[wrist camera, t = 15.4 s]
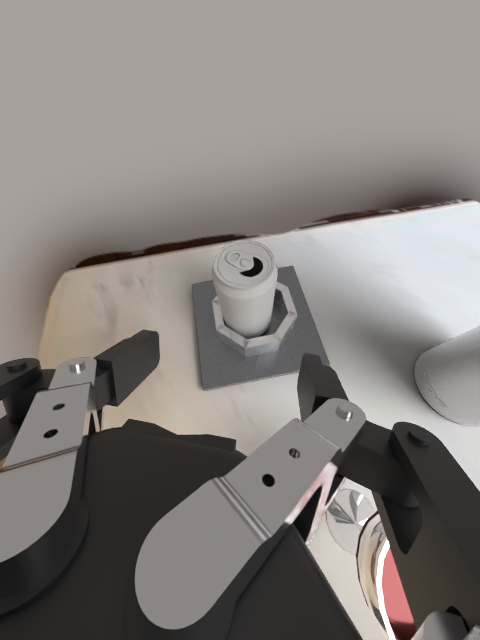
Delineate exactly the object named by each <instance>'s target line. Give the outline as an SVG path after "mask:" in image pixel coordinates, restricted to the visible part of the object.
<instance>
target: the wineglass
mask: <svg viewBox="0 0 480 640" xmlns="http://www.w3.org/2000/svg"><path fill="white" fill-rule="evenodd" d="M326 514H327V524H328V527H329V530H330V533H331V535H332V536H333V538H334V540H335V541H336V543H337V544H338V545H339V546H340V547H341V548H342V549H344V550H346V551H347V552H349V553H351V554H356V560H357V570H358V578H359V582H360V585H361V588H362V591H363V594H364V597H365V600H366V603H367V606H368V607H369V609H370V612H371V613H372V615H373V617H374V619H375V620H376V622H377V624H378V625H379V627H380V629H381V631H382V632H383V634H384V636H385V637H386V638H387V640H411V639H412V638H413V636H414V635H415V634H416V632H417V630H416V627H415V623H414V620H413V617H412V614H411V611H410V608H409V605H408V602H407V599H406V596H405V593H404V590H403V586H402V583H401V580H400V577H399V574H398V571H397V568H396V565H395V562H394V559H393V556H392V553H391V549H390V546H389V543H388V540H387V537H386V534H385V531H384V528H383V525H382V522H381V519H380V516H379V513H378V510H377V511H376V512H375V510H374V508H373V506H372V505H371V503H370V502H369V501H368V499H366V498H365V497H364V496H363V495H362V494H360V493H358V492H356V491H354V490H348V489H344V490H341V491H338V493H337V494H336V496H335V498H334V499H333V501H332V502H331V504H330V506H329V507H328V509H327V511H326Z"/></svg>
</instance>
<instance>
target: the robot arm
mask: <svg viewBox="0 0 480 640" xmlns="http://www.w3.org/2000/svg"><path fill="white" fill-rule="evenodd" d="M159 359H160V351H159V334H158V332H156V331H149V330H142V331H140V332H139V333H137V334H135V335H134V336H132V337H130V338H127V339H124V340H122V341H121V342H119V343H117V344H116V345H114V346H112V347H111V348H110V349H108V350H106V351H104V352H103V353H101V354H99V355H98V356H96V357H94V358H88V357H83V358H76V359H72V360H68V361H66V362H64V363H62V364H60V365H59V366H58V367H57V369H44V370H41V366H40V361H39V360H38V359H34V358H23V359H17V360H13V361H9V362H6V363H4V364H1V365H0V401H1V400H2V401H3V404H4V407H5V410H6V413H7V415H6V416H4V417H3V418H1V419H0V461H1V460H2V459H3V458H5V457H6V456H7V455H8V456H7V458H6V461H5V463H4V465H3V467H2V468H1V469H0V640H363V639H362V637H361V636H360V634H359V632H358V631H357V629H356V627H355V626H354V624H353V622H352V621H351V619H350V617H349V616H348V614H347V612H346V611H345V609H344V607H343V606H342V604H341V602H340V601H339V599H338V597H337V596H336V594H335V592H334V591H333V589H332V587H331V586H330V584H329V582H328V580H327V579H326V577H325V575H324V574H323V572H322V570H321V569H320V567H319V565H318V564H317V562H316V560H315V559H314V557H313V555H312V554H311V552H310V550H309V549H308V546H309V544H310V542H311V540H312V539H313V537H314V535H315V533H316V531H317V529H318V526H319V524H320V522H321V520H322V518H323V516H324V514H325V512H326V511H327V509H328V507H329V506H330V504H331V502H332V501H333V499H334V498H335V496H336V494H337V493H338V491H339V490H340V488H341V486H342V485H343V483H344V481H345V480H346V478H348V479H350V480H352V481H354V482H356V483H358V484H360V485H362V486H364V487H366V488H368V489H370V490H371V491H372V494H373V497H374V500H375V503H376V506H377V509H378V513H379V516H380V519H381V522H382V525H383V528H384V531H385V534H386V537H387V540H388V543H389V546H390V549H391V553H392V556H393V559H394V562H395V565H396V568H397V571H398V574H399V577H400V580H401V583H402V586H403V590H404V593H405V596H406V599H407V602H408V605H409V608H410V611H411V614H412V617H413V620H414V623H415V627H416V630H417V632H416V634H415V635H414V636H413V638H412V639H411V640H480V491H479V490H478V489H477V488H476V486H475V485H474V484H473V482H472V481H471V480H470V478H469V477H468V476H467V474H466V473H465V472H464V471H463V469H462V468H461V467H460V465H459V464H458V463H457V461H456V460H455V459H454V457H453V456H452V455H451V454H450V452H449V451H448V450H447V448H446V447H445V446H444V444H443V443H442V442H441V441H440V440H439V439H438V438H437V437H436V436H435V435H433V434H432V433H431V432H429V431H427V430H426V429H424V428H422V427H420V426H418V425H415V424H412V423H408V422H397V423H395V424H394V426H393V428H392V430H389V429H386V428H384V427H381V426H378V425H376V424H373V423H371V422H369V421H367V420H366V416H365V413H364V412H363V411H362V410H361V409H360V408H359V407H358V406H357V405H355V404H354V403H352V402H350V401H349V400H348V398H347V396H346V393H345V391H344V389H343V387H342V385H341V383H340V380H339V378H338V376H337V374H336V372H335V371H334V370H333V369H332V368H331V367H330V366H327V365H323V364H322V362H321V359H320V356H319V355H317V354H309V353H303V356H302V361H301V366H300V372H299V377H298V384H297V392H298V399H299V406H300V414H301V420H299V419H298V418H294V419H293V420H291V421H290V422H289V423H288V424H287V425H285V426H284V427H283V428H282V429H281V430H279V431H278V432H277V433H276V434H275V435H273V436H272V437H271V438H270V439H269V440H267V441H266V442H265V443H264V444H263V445H262V446H260V447H259V448H258V449H257V450H256V451H254V452H253V453H252V454H251V455H250V456H248V457H247V456H246V455H244V454H243V453H241V452H239V451H237V450H236V440H235V439H230V438H225V437H219V436H214V435H209V434H204V435H177V434H174V433H172V432H170V431H168V430H166V429H164V428H162V427H160V426H158V425H156V424H153V423H148V422H143V421H138V420H133V419H128V420H127V421H126V423H125V424H124V425H123V426H122V427H118V428H110V429H106V430H103V425H104V409H103V407H104V406H105V405H111V406H117V407H118V406H119V405H120V404H121V403H122V402H123V401H124V400H125V399H126V398H127V397H128V396H129V395H130V394H131V393H132V392H133V391H134V390H135V389H136V388H137V387H138V386H139V384H140V383H141V382H142V381H143V380H144V379H145V378H146V377H147V376H148V375H149V374H150V373H151V372H152V371H153V370H154V369H155V368H156V367H157V366H158V363H159ZM414 376H415V381H416V384H417V387H418V389H419V391H420V393H421V394H422V396H423V398H424V399H425V400H426V402H427V403H428V404H429V405H430V406H431V407H432V408H433V409H434V410H436V411H437V412H438V413H439V414H440V415H442V416H444V417H445V418H447V419H449V420H451V421H453V422H456V423H458V424H462V425H467V426H480V326H479V327H477V328H474V329H472V330H470V331H468V332H466V333H464V334H461V335H459V336H457V337H455V338H453V339H450V340H448V341H446V342H444V343H442V344H440V345H438V346H436V347H433V348H431V349H429V350H427V351H425V352H424V353H423V354H421V355H420V356H419V358H418V359H417V361H416V364H415V368H414Z"/></svg>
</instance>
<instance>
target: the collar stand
mask: <svg viewBox="0 0 480 640" xmlns="http://www.w3.org/2000/svg"><path fill="white" fill-rule="evenodd" d="M192 291H193V300H194V309H195V319H196V328H197V337H198V347H199V356H200V366H201V375H202V384H203V390H204V391H207V390H212V389H217V388H222V387H227V386H232V385H237V384H242V383H247V382H252V381H257V380H262V379H267V378H272V377H277V376H282V375H287V374H292V373H297V372H300V366H301V361H302V356H303V353H309V354H317V355H319V356H320V359H321V362H322V364H323V365H327V366H329V365H330V363H329V360H328V358H327V355H326V352H325V350H324V347H323V344H322V342H321V339H320V336H319V334H318V331H317V329H316V326H315V323H314V321H313V318H312V315H311V313H310V310H309V307H308V305H307V302H306V299H305V297H304V294H303V291H302V289H301V286H300V283H299V281H298V278H297V275H296V273H295V270H294V267H293V266H289V267H283V268H278V275H277V282H276V288H275V295H274V302H273V309H272V315H271V322H270V325H269V327H268V329H267V330H266V331H265V332H264V333H263V334H262V335H261V336H258V337H256V338H251V339H245V338H244V337H242V336H241V335H239V334H237V333H236V332H234V331H232V330H231V329H229V328H228V327H226V326H225V323H224V319H223V315H222V312H221V308H220V304H219V301H218V297H217V293H216V290H215V286H214V282H213V280H212V281H207V282H201V283H196V284H192Z"/></svg>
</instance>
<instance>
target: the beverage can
mask: <svg viewBox="0 0 480 640" xmlns="http://www.w3.org/2000/svg"><path fill="white" fill-rule="evenodd" d="M277 275H278V269H277V265H276V263H275V260H274V256H273V254H272V252H271V251H270V250H269V249H268V248H267V247H266V246H265V245H263V244H261V243H259V242H256V241H251V240H240V241H235V242H232V243H230V244H228V245H226V246H224V247H223V248H222V249H221V250H220V251H219V252H218V253H217V255H216V257H215V260H214V266H213V269H212V278H213V282H214V286H215V290H216V293H217V297H218V301H219V304H220V308H221V312H222V315H223V319H224V323H225V326H226V327H228V328H229V329H231V330H232V331H234V332H236V333H237V334H239V335H241V336H242V337H244V338H245V339H251V338H256V337H258V336H261V335H262V334H263V333H264V332H265V331H266V330H267V329H268V327H269V325H270V322H271V315H272V309H273V302H274V295H275V288H276V282H277Z"/></svg>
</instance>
